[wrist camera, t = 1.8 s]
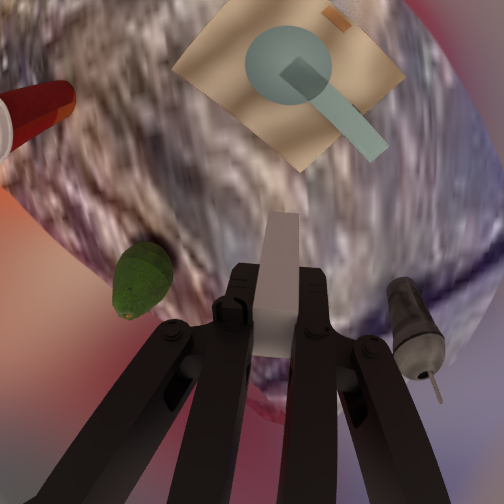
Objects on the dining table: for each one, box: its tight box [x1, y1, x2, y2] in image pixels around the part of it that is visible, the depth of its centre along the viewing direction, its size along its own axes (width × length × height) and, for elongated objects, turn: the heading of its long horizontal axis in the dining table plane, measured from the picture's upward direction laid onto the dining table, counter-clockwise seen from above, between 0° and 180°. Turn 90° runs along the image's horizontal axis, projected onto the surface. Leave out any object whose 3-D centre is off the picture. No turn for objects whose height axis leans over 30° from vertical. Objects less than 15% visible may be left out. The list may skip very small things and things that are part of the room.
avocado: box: [112, 242, 173, 320], centre depth 39 cm, size 8×8×12 cm
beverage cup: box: [387, 277, 445, 404], centre depth 35 cm, size 7×7×20 cm
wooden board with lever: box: [171, 0, 405, 173], centre depth 25 cm, size 18×16×4 cm
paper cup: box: [0, 80, 76, 164], centre depth 25 cm, size 8×8×14 cm
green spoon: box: [245, 26, 389, 163], centre depth 24 cm, size 14×7×3 cm, turn 50°
